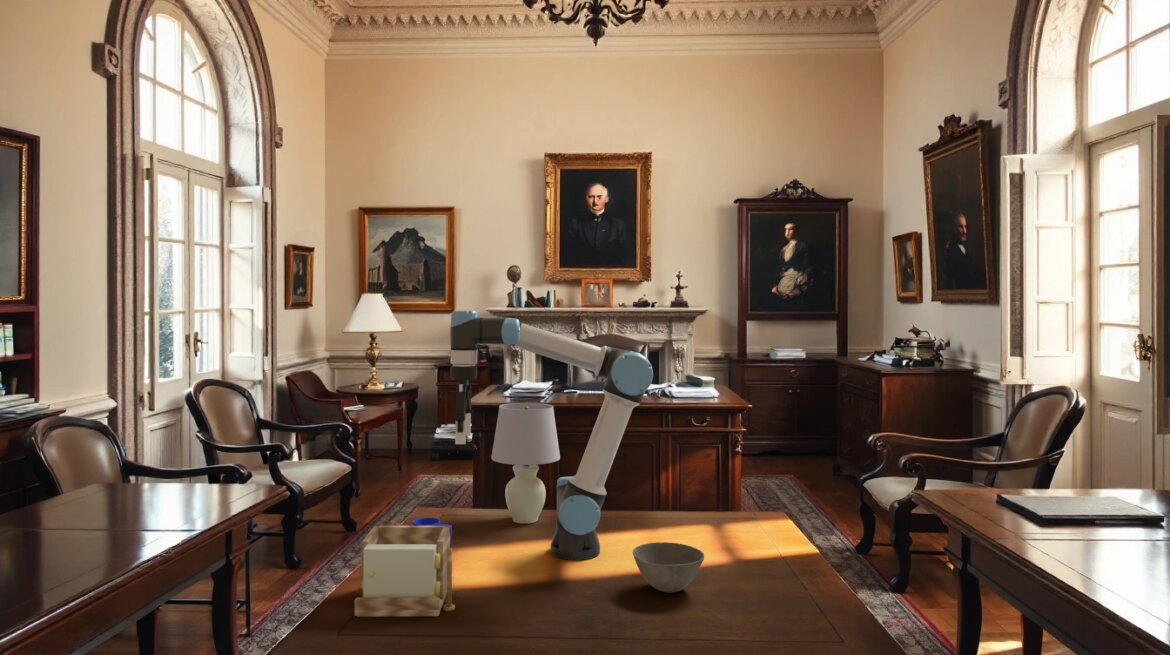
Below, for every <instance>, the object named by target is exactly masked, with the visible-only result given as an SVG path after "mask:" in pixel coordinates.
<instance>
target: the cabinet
mask: <svg viewBox="0 0 1170 655" xmlns="http://www.w3.org/2000/svg"><path fill="white" fill-rule="evenodd" d="M367 544H437V553H438V554H440V568H436V582H440V596H438V597H404V598H363V565H364V548H365V547H366V546H367ZM452 586H453V548H451V541H450V526H413V525H374V526H373V527H372V529H370V531H369V532H368V533H367V534H366V536H365V537H364V539H362V541H361V597H356V598H355V599H354V617H355V616H357V617H439V615H440V614H441V611H442V608H443V611H444V612H453V611H455V610H456V605H455V604H453V598H452V597H453V587H452ZM445 600H446V603H445V604H444V602H445Z"/></svg>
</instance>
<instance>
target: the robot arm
mask: <svg viewBox="0 0 1170 655" xmlns="http://www.w3.org/2000/svg"><path fill="white" fill-rule="evenodd" d="M450 316H451V317H450V326H449V328H450V332H449V333H450V352H449V353H448V357H449V358H450V364H452V365H451V366H450V368H449V375H450V376H449V377H450V379H451V380H458V383H457V384H456V386H455V392H456V393H455V407H454V408H455V410H454V416H453V417H452V421H454V422H455V427H454V428H455V429H454V430H455V432H454V434H455V435H454V436H455V437H454V438H455V442H454V444H455V445H466V444H467V443H466V442H467V441H466V439H467V438H466V437H470V436H471V432H472V430H471V428H472V427H471V425H472V424H471V423H472V422H471V421H472V418H471V416H472V414H473V413H474V409H472V408H473V407H472V392H471V391H472V385H471V381H472V380H476V379H477V378H478V366H477V364H478V345H506V346H511V347H514V348H517V349H520V350H523V351H527V352H531V353H533V354H536V355H539V356H543V357H546V358H549V359H552V360H556V361H559V362H562V363H566V364H568V365H572V366H575V367H578V368H581V369H584V370H588V371H590V372H593V373H594V375H595V376H596V377H599V378H602V379H605V382H604V384H603V387H602V392H603V394H604V399H603V403H602V405H601V408H600V410H599V412H598V415H597V419H596V420H595V423H594V427H593V428H592V432H591V434H590V437H589V439H588V442H587V445H586V448H585V449H584V450H585V451H584V453H583V455H582V458H581V460H580V464H579V465H578V468H577V471H576V474H575V475H573V476H571V475H570V476H562V477H559V478H558V479H557V481H556V486H555V488H556V528H555V530H554V533H553V536H552V539H551V543H550V551H549V552H550V554H551V555H552V556H554V557H556V558H558V559H559V558H560V559H562V560H563V559H565V560H573V561H574V560H575V561H576V560H577V561H578V560H587V559H589V560H590V559H592V558H594V557H595V558H596V557H598V556H599V555H600V553H601V544H600V540H599V537H598V533H597V530H596V527H597V526H598V525H599V522H600V521H601V515H602V513H601V509H602V507H603V505H604V502H605V498H606V496H607V490H606V488H605V484H606V481H607V479H608V477H609V476H608V475H609V474H610V471H611V468H612V465H613V463H614V460H615V457H616V455H617V453H618V449H619V446H620V444H621V441H622V439H623V436H624V433H625V431H626V428H627V425H628V422H629V420H630V418H631V415H632V412H633V409H634V408H635V407H637V406H640V405H641V403H642V401H643V399H644V396H645V393H646V391H647V390H648V389H649V388H650V386H651V384H652V382H653V379H654V371H653V366H652V363H651V362H650V360H649V359H648V358H647V357H646V356H645V355H643V354H642V353H640V352H636V351H633V350H631V349H620V348H615V347H611V346H608V345H603V346H600V347H599V346H597V345H594V344H591V343H588V342H584V341H582V340H577V339H574V338H571V337H568V336H565V335H561V334H558V333H555V332H552V331H548V330H545V329H541V328H538V327H535V326H532V325H529V324H526V323H522V322H520V320H519V319H518V318H512V317H505V316H498V317H485V318H484V317H479V314H478V312H477V311H476V310H454V311H452V313H451V314H450Z"/></svg>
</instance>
